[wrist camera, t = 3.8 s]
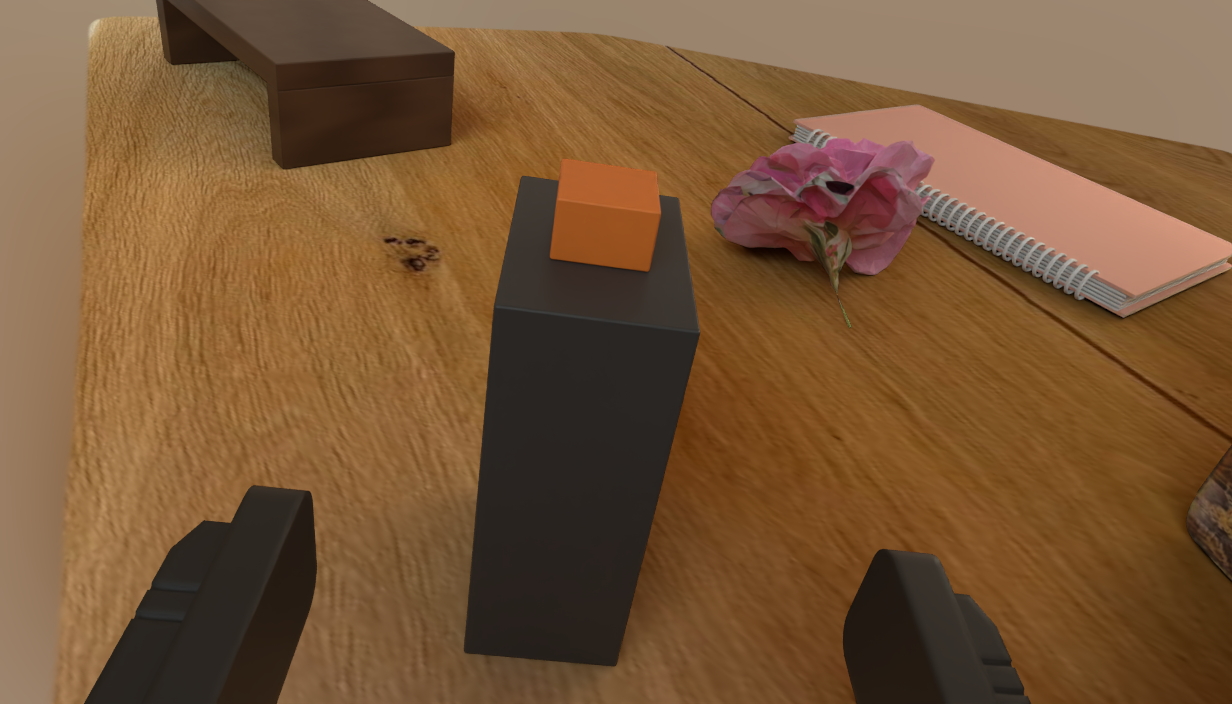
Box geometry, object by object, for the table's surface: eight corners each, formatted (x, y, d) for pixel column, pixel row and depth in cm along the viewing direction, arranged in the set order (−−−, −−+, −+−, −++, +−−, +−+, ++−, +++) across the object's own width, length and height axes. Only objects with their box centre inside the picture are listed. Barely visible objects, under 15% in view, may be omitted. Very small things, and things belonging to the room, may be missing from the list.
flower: (707, 276, 53) (781, 130, 53) (857, 346, 50) (935, 194, 50) (674, 235, 42) (767, 51, 42) (864, 323, 39) (964, 127, 39)
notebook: (778, 142, 65) (785, 117, 64) (911, 123, 75) (919, 101, 74) (1112, 325, 49) (1129, 295, 48) (1229, 271, 58) (1246, 245, 57)
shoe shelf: (283, 169, 49) (275, 63, 45) (164, 57, 60) (151, -34, 57) (451, 145, 55) (455, 51, 52) (314, 48, 67) (311, -34, 63)
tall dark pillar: (463, 653, 25) (499, 238, 17) (490, 486, 31) (526, 119, 23) (616, 667, 25) (717, 267, 18) (614, 499, 31) (690, 143, 23)
